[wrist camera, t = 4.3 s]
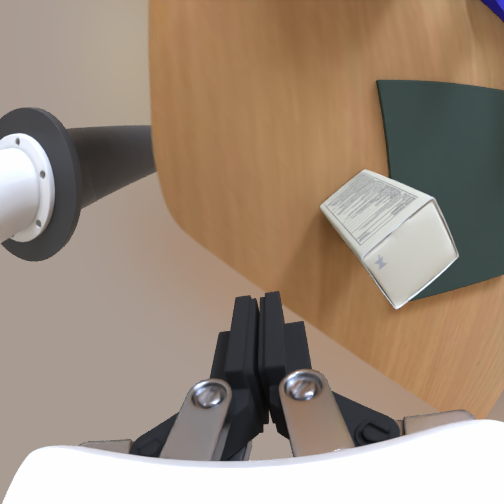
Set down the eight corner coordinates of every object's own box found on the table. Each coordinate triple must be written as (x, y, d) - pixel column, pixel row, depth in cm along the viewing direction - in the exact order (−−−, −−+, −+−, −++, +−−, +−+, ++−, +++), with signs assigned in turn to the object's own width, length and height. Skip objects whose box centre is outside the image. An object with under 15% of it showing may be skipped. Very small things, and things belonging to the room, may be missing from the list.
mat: (390, 303, 26) (391, 305, 26) (375, 80, 18) (377, 79, 18) (503, 272, 25) (505, 273, 24) (507, 91, 17) (510, 92, 17)
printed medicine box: (347, 245, 24) (392, 315, 15) (316, 205, 23) (353, 259, 13) (394, 208, 22) (462, 258, 13) (367, 165, 21) (434, 194, 12)
